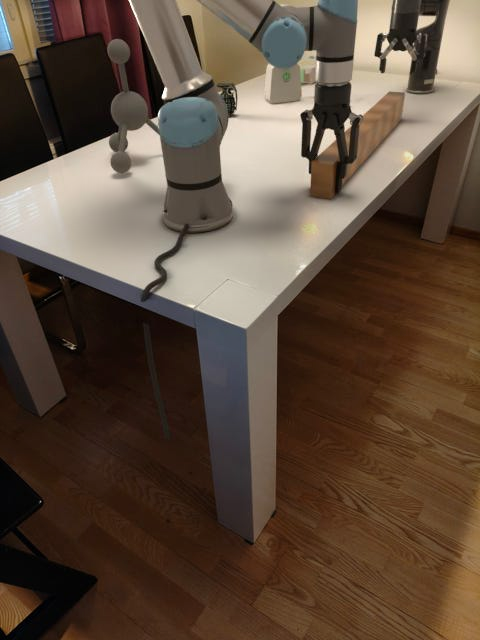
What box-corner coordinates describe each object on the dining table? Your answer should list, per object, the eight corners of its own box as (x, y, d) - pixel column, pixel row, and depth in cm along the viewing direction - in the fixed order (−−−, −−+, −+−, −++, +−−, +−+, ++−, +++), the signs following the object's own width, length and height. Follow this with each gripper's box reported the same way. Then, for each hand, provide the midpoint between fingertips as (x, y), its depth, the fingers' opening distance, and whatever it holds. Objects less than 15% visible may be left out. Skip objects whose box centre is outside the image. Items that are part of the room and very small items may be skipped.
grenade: (217, 117, 168) (214, 86, 162) (221, 112, 172) (219, 82, 166) (235, 117, 166) (233, 86, 160) (239, 113, 171) (238, 82, 165)
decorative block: (301, 54, 217) (342, 57, 208) (301, 70, 221) (341, 73, 212) (270, 65, 201) (313, 69, 192) (270, 82, 205) (312, 86, 196)
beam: (330, 199, 112) (332, 164, 107) (310, 196, 114) (311, 161, 109) (401, 119, 156) (405, 92, 151) (385, 118, 158) (389, 91, 153)
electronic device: (270, 104, 178) (269, 7, 160) (263, 99, 184) (262, 5, 165) (301, 100, 180) (304, 4, 162) (294, 95, 186) (296, 2, 168)
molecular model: (195, 164, 133) (181, 39, 115) (114, 179, 127) (87, 50, 109) (172, 140, 150) (157, 28, 132) (101, 152, 145) (75, 37, 126)
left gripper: (381, 80, 100) (368, 188, 114) (299, 75, 107) (297, 178, 121) (371, 89, 95) (358, 201, 109) (285, 83, 102) (284, 189, 116)
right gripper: (434, 8, 136) (424, 72, 146) (383, 8, 141) (376, 69, 151) (429, 11, 131) (418, 77, 141) (376, 11, 136) (369, 74, 146)
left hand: (326, 188), depth 115 cm, fingers closed on beam, 5 cm apart
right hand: (396, 73), depth 146 cm, fingers open, 8 cm apart
